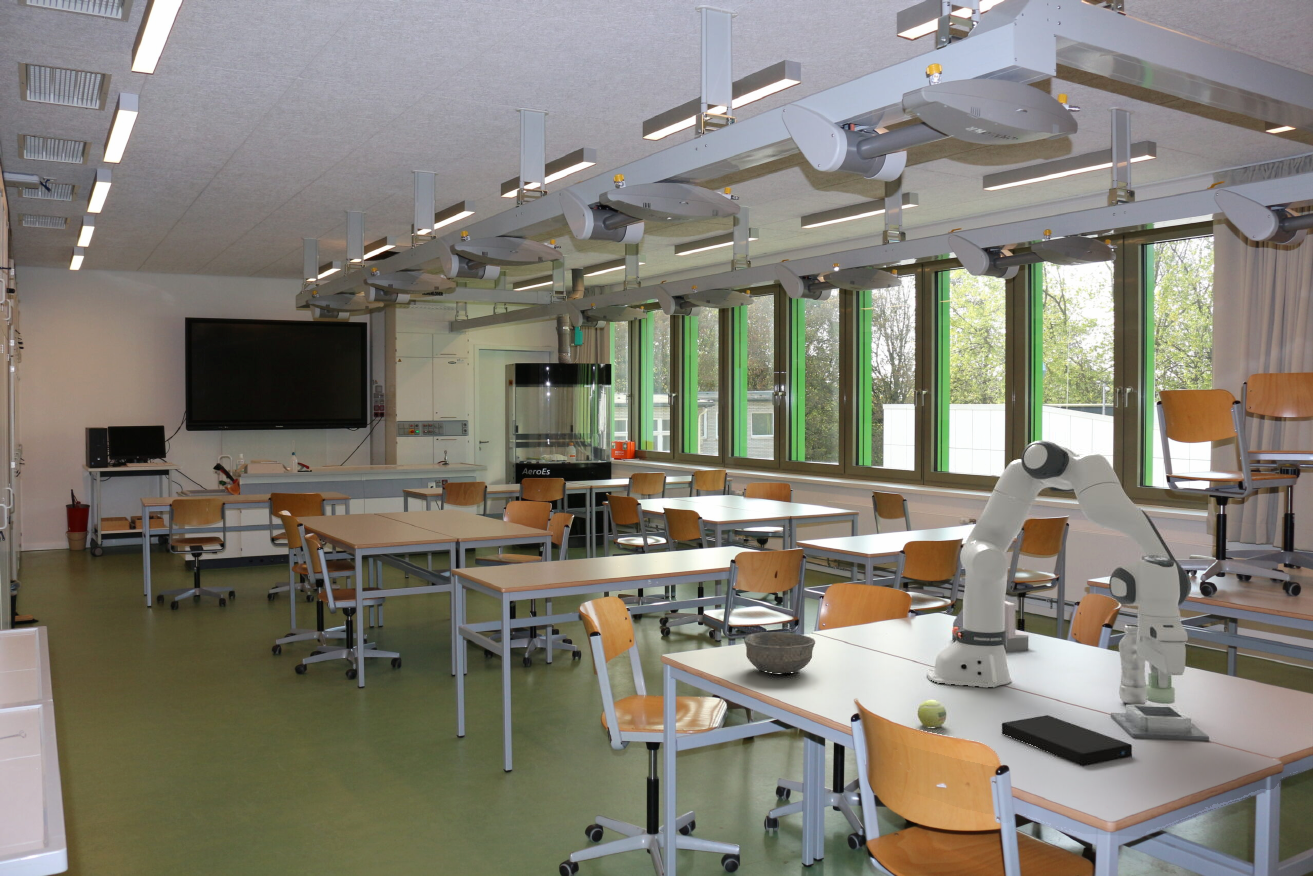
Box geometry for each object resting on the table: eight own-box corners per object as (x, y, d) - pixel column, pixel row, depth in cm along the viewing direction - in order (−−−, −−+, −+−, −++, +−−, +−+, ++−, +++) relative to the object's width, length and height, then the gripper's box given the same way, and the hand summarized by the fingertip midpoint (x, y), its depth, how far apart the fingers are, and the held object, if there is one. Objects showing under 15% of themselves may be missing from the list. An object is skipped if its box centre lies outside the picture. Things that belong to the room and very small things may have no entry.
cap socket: (1133, 737, 215) (1132, 720, 215) (1110, 716, 231) (1110, 700, 231) (1209, 741, 213) (1208, 723, 213) (1181, 719, 228) (1181, 703, 228)
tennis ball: (936, 703, 221) (948, 697, 226) (910, 702, 225) (922, 696, 230) (940, 731, 220) (952, 724, 225) (914, 729, 224) (926, 722, 229)
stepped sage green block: (1151, 703, 219) (1150, 677, 219) (1141, 696, 225) (1141, 671, 225) (1178, 704, 219) (1178, 678, 219) (1168, 696, 225) (1168, 671, 224)
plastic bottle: (1137, 709, 237) (1136, 629, 237) (1113, 702, 243) (1112, 624, 243) (1153, 705, 240) (1153, 626, 240) (1129, 699, 246) (1129, 622, 246)
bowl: (830, 674, 273) (830, 639, 273) (779, 686, 261) (779, 650, 261) (780, 660, 290) (779, 628, 290) (729, 671, 277) (729, 637, 277)
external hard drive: (1048, 727, 224) (1048, 715, 224) (1132, 758, 203) (1132, 744, 203) (1001, 736, 219) (1001, 723, 219) (1083, 768, 197) (1083, 754, 197)
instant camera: (1033, 652, 299) (1033, 605, 299) (968, 653, 299) (968, 605, 299) (1007, 637, 320) (1007, 593, 320) (946, 638, 320) (946, 594, 320)
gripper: (1129, 617, 233) (1129, 673, 233) (1160, 635, 212) (1161, 696, 212) (1156, 617, 232) (1157, 674, 232) (1190, 635, 211) (1191, 697, 212)
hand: (1159, 685), depth 222 cm, fingers closed on stepped sage green block
